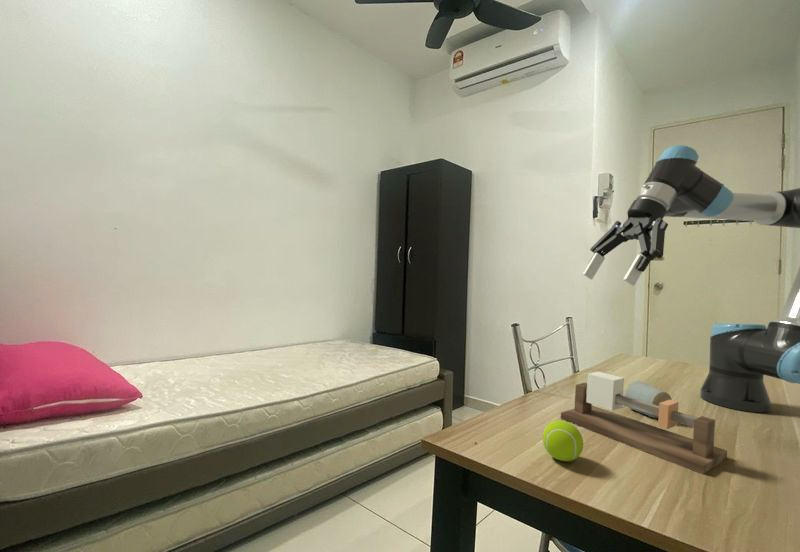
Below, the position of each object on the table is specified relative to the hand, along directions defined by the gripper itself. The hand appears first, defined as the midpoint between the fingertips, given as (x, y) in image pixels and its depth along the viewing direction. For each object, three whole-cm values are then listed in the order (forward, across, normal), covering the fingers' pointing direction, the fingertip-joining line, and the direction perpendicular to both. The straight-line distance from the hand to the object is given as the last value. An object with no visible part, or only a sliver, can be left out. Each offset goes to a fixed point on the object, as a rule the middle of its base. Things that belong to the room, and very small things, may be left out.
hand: (606, 279), depth 91 cm
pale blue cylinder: (+22, 0, +31) cm, 38 cm away
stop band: (+23, +17, +16) cm, 33 cm away
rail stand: (+29, +12, +17) cm, 35 cm away
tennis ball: (+40, +19, -4) cm, 44 cm away
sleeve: (+26, +5, +12) cm, 30 cm away
